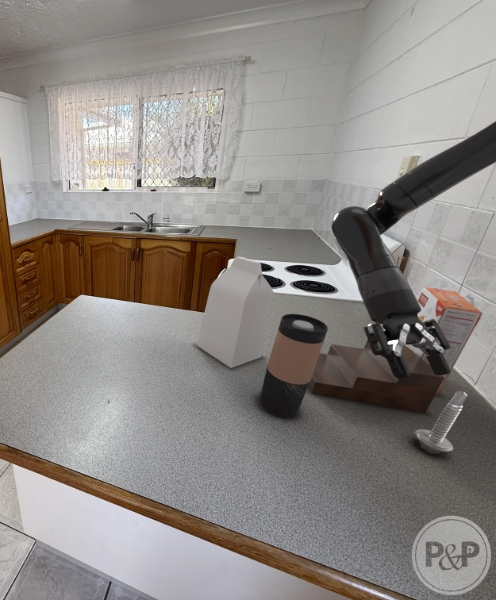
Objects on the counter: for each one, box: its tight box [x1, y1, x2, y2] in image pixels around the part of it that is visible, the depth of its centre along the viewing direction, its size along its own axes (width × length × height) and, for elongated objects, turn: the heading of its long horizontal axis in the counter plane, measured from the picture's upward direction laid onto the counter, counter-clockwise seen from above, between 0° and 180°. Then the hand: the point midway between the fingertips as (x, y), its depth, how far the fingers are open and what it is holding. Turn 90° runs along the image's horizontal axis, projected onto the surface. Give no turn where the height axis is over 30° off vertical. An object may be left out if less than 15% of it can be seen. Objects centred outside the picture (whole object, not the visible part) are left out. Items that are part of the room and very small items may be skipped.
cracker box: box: [405, 286, 484, 395], centre depth 73 cm, size 14×6×21 cm, turn 149°
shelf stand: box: [308, 339, 445, 414], centre depth 72 cm, size 21×14×9 cm, turn 74°
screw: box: [414, 390, 469, 455], centre depth 54 cm, size 13×5×5 cm
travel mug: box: [259, 313, 329, 419], centre depth 62 cm, size 8×8×20 cm
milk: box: [196, 256, 274, 369], centre depth 81 cm, size 12×12×26 cm
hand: (423, 376), depth 57 cm, fingers open, 8 cm apart
